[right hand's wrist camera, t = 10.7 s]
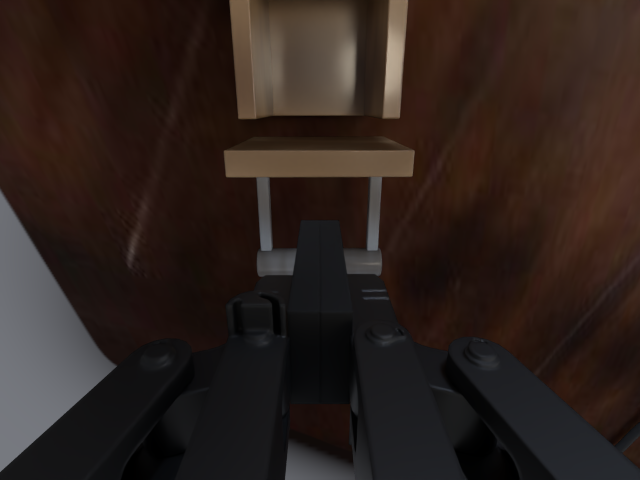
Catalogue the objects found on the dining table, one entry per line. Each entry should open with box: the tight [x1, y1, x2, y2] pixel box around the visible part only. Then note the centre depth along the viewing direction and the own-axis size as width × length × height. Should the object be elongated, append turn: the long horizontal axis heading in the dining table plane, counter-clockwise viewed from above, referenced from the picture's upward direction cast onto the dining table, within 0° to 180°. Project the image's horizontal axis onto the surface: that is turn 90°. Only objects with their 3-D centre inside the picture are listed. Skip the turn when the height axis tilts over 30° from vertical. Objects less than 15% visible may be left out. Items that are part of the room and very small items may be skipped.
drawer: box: [224, 0, 415, 277], centre depth 18 cm, size 25×8×8 cm, turn 0°
